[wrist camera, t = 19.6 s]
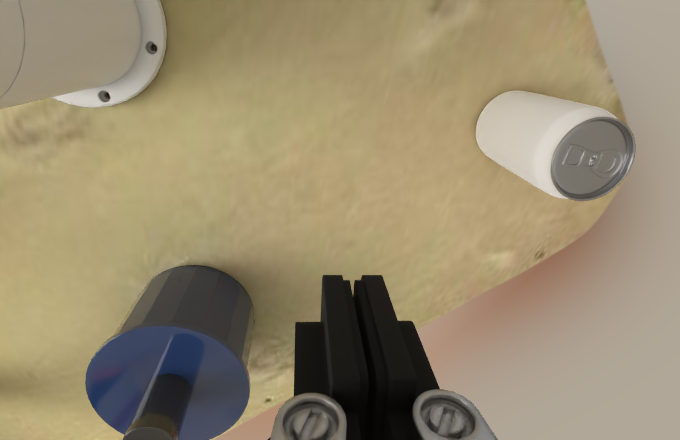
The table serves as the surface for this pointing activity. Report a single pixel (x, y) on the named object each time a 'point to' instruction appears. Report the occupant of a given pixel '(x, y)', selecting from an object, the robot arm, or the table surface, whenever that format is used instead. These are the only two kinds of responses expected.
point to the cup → (197, 305)
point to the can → (556, 143)
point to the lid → (168, 383)
